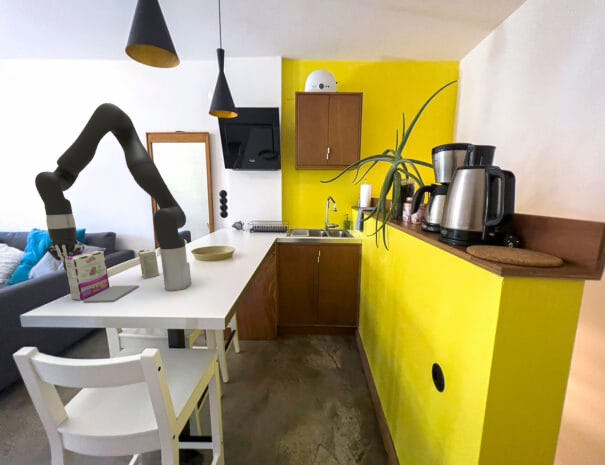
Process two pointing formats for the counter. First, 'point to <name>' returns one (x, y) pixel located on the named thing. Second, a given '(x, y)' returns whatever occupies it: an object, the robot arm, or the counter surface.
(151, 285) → the counter surface
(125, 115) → the robot arm
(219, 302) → the counter surface
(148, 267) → the skincare box
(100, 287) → the candy bar box
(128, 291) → the felt pad
